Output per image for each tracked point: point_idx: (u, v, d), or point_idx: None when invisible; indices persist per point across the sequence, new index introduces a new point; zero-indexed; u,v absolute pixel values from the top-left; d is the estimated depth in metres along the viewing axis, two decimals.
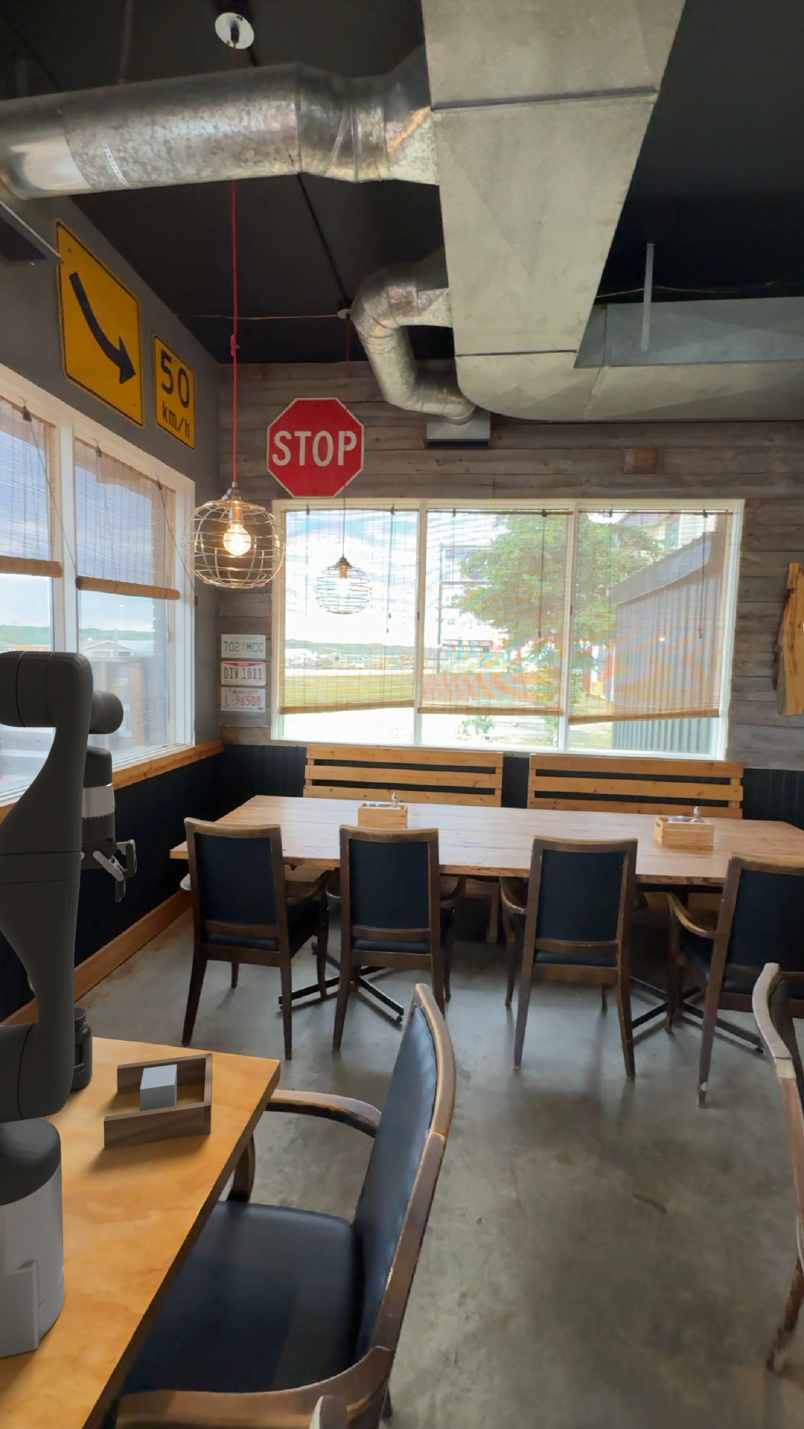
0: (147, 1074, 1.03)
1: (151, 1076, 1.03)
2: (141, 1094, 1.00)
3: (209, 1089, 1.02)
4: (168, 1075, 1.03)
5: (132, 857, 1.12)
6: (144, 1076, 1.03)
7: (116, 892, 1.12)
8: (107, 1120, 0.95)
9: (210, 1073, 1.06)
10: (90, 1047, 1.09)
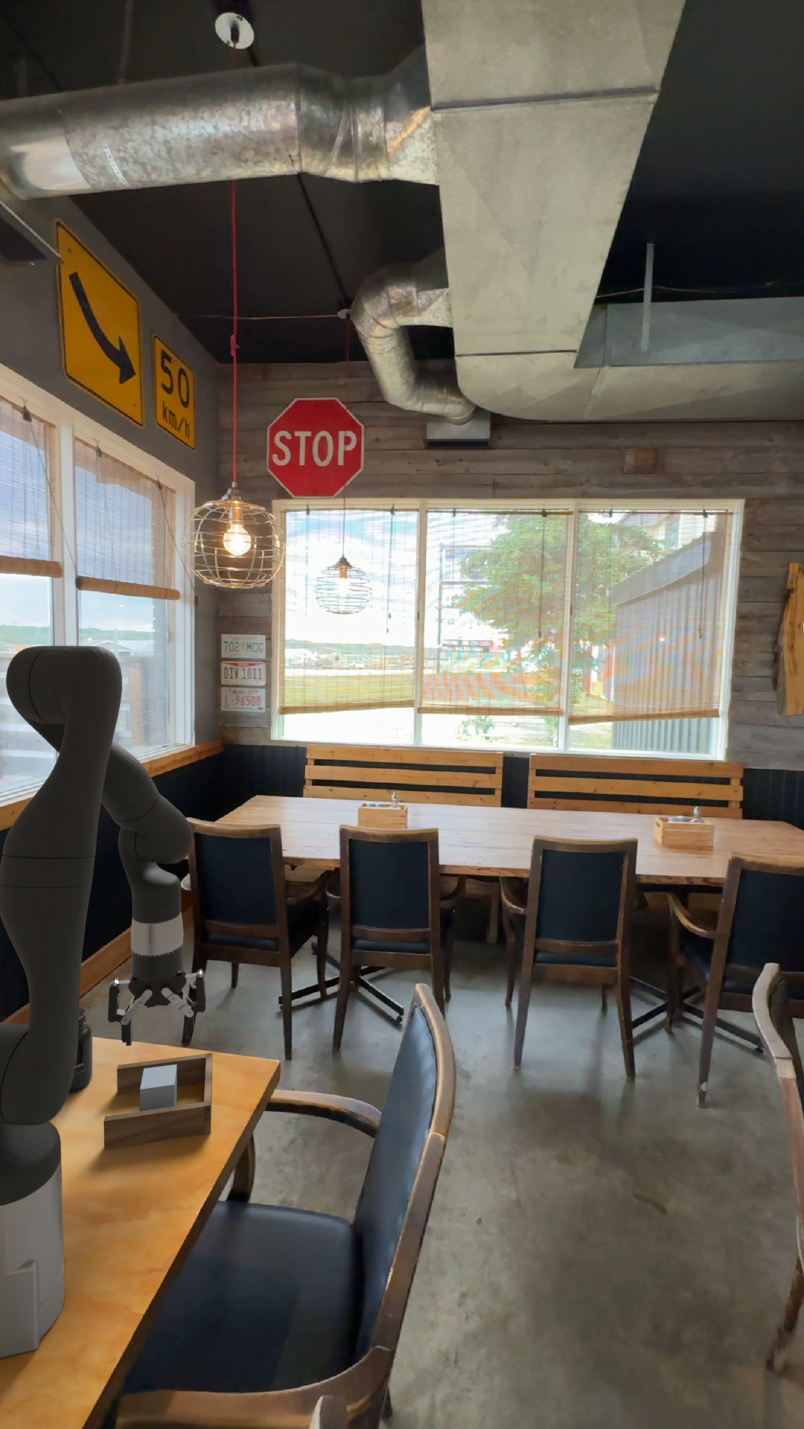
0: (147, 1074, 1.03)
1: (151, 1076, 1.03)
2: (141, 1094, 1.00)
3: (209, 1089, 1.02)
4: (168, 1075, 1.03)
5: (203, 991, 1.02)
6: (144, 1076, 1.03)
7: (185, 1029, 1.02)
8: (107, 1120, 0.95)
9: (210, 1073, 1.06)
10: (90, 1047, 1.09)
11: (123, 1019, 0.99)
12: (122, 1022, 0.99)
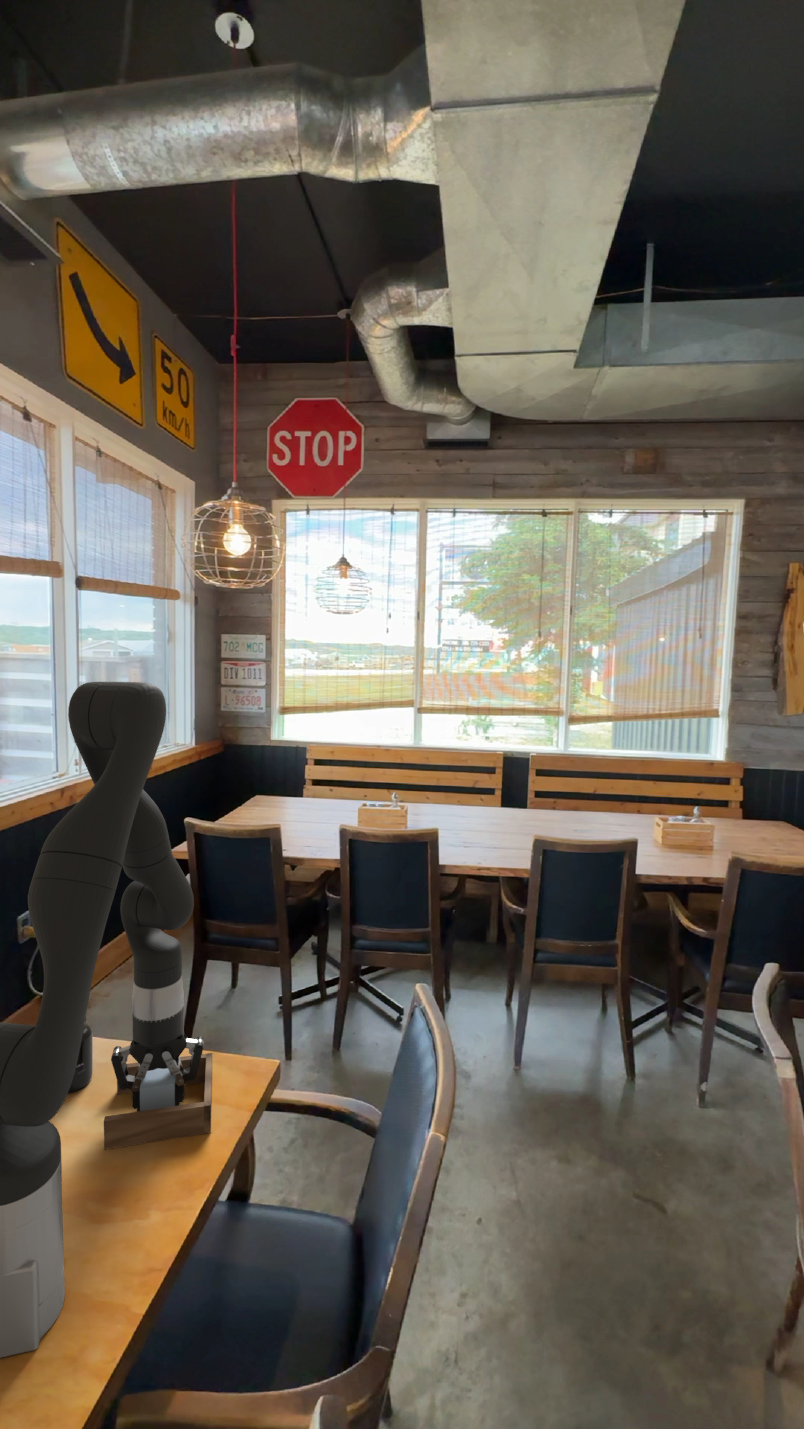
0: (147, 1074, 1.03)
1: (151, 1075, 1.03)
2: (141, 1094, 1.00)
3: (209, 1089, 1.02)
4: (168, 1074, 1.03)
5: (198, 1060, 1.03)
6: None
7: (175, 1097, 1.03)
8: (107, 1120, 0.95)
9: (210, 1073, 1.06)
10: (90, 1047, 1.09)
11: (134, 1086, 1.01)
12: (133, 1089, 1.01)
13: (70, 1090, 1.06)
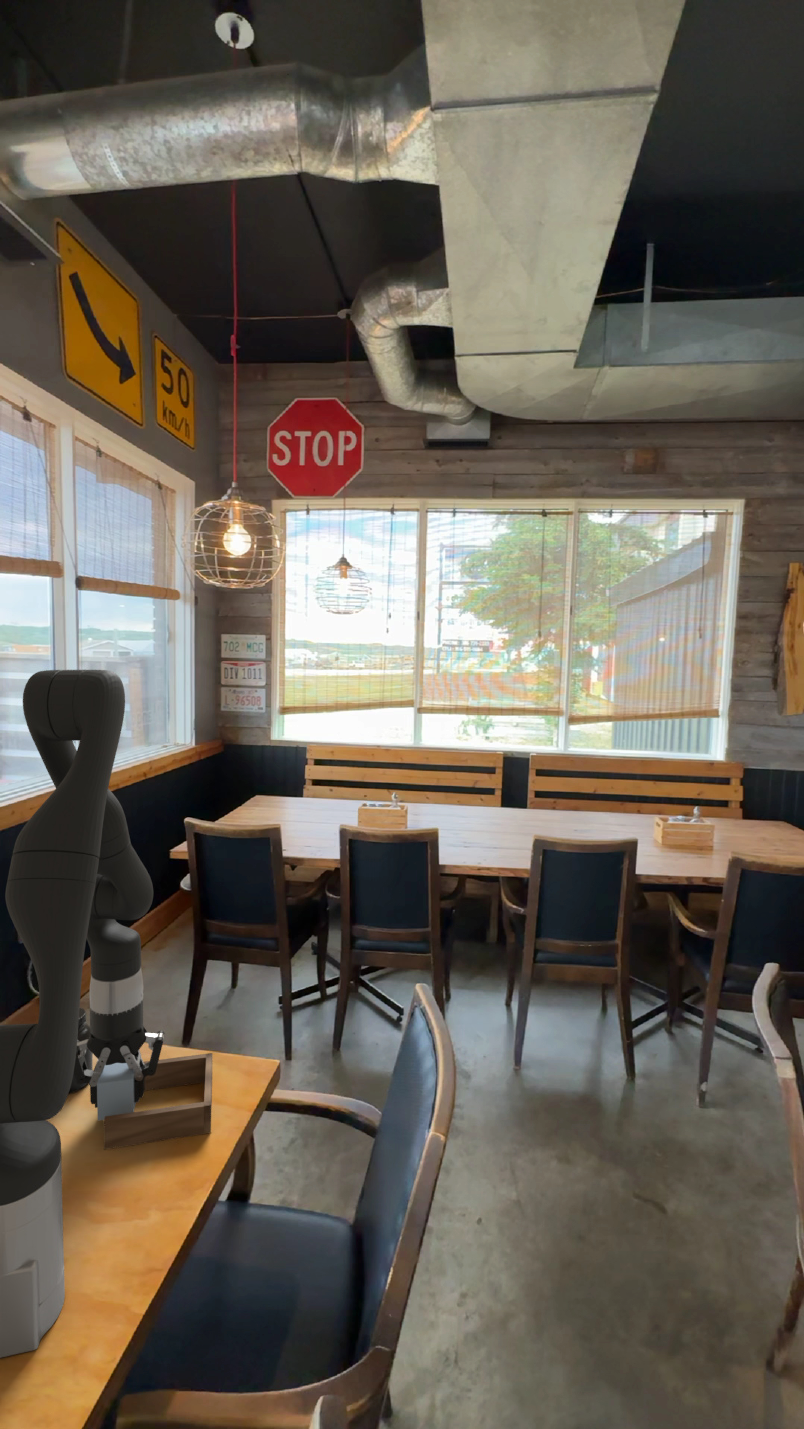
0: (106, 1068, 1.01)
1: (110, 1070, 1.01)
2: (98, 1088, 0.98)
3: (209, 1089, 1.02)
4: (127, 1069, 1.01)
5: (158, 1055, 1.01)
6: (103, 1070, 1.01)
7: (135, 1093, 1.01)
8: (107, 1120, 0.95)
9: (210, 1073, 1.06)
10: None
11: (92, 1081, 0.99)
12: (91, 1084, 0.99)
13: (70, 1090, 1.06)
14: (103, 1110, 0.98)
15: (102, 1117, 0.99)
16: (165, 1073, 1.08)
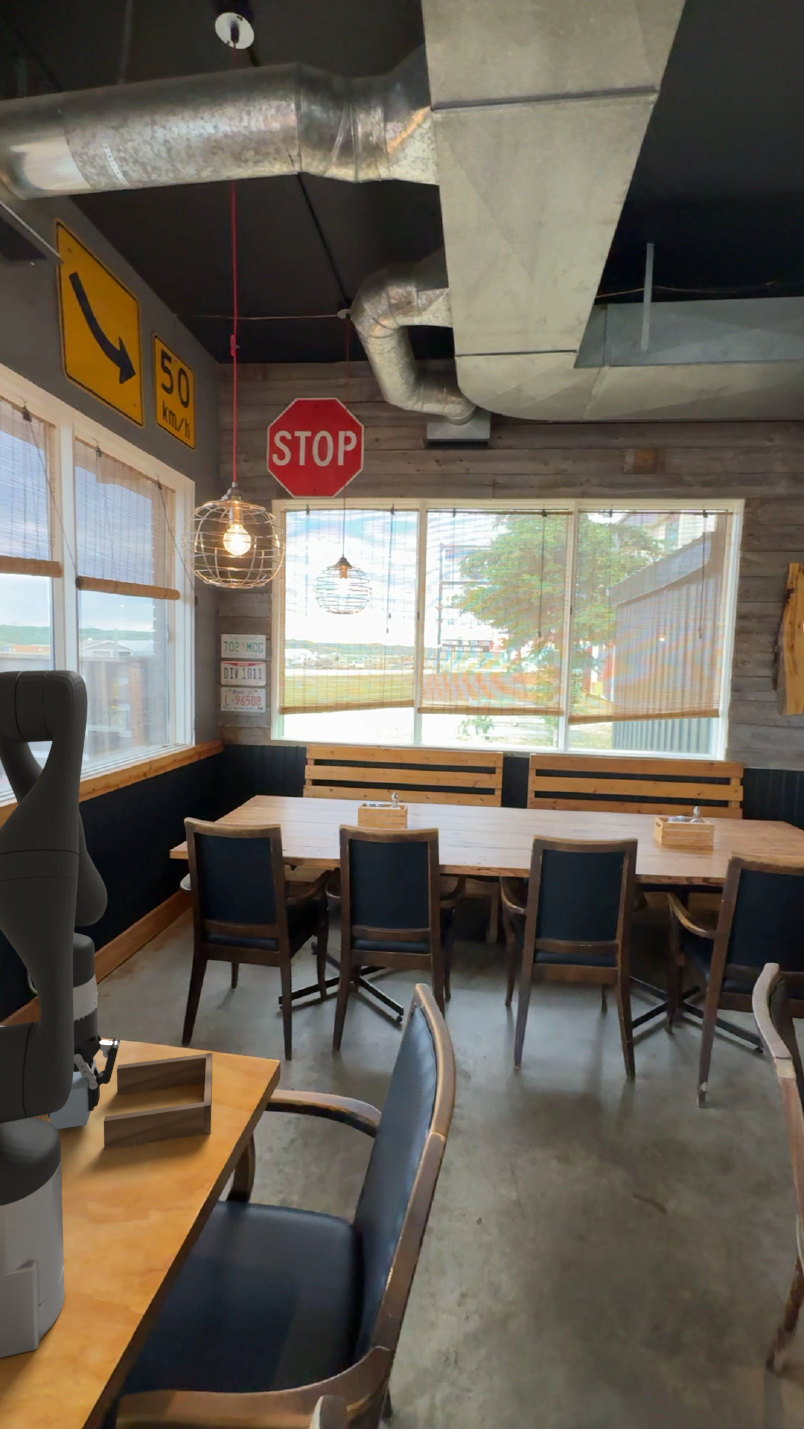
0: None
1: None
2: None
3: (209, 1089, 1.02)
4: (81, 1077, 1.00)
5: (113, 1063, 0.99)
6: None
7: (89, 1101, 0.99)
8: (107, 1120, 0.95)
9: (210, 1073, 1.06)
10: None
11: None
12: None
13: None
14: (56, 1120, 0.97)
15: (55, 1126, 0.97)
16: (165, 1073, 1.08)
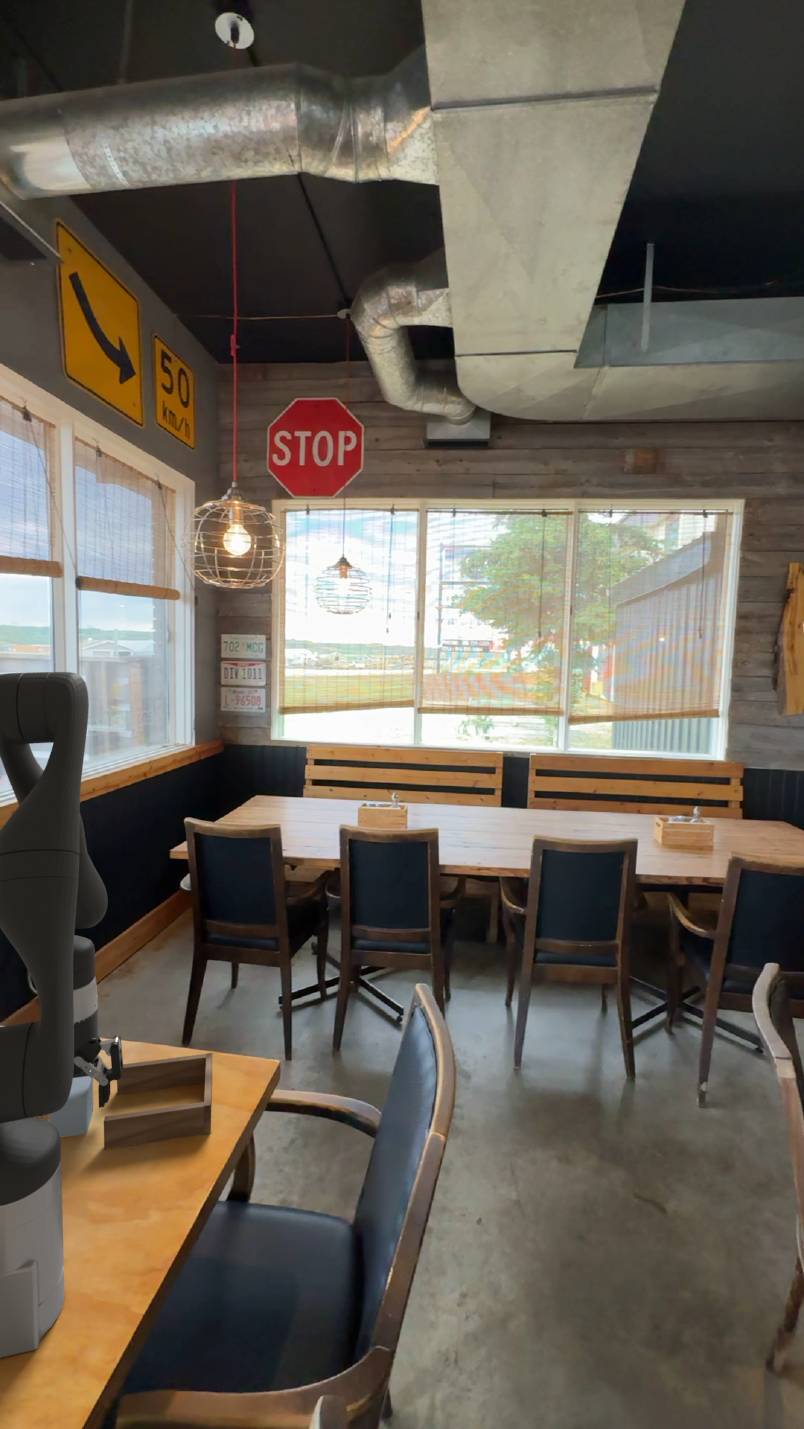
0: None
1: None
2: None
3: (209, 1089, 1.02)
4: (81, 1087, 1.00)
5: (117, 1059, 1.00)
6: None
7: (100, 1098, 1.00)
8: (107, 1120, 0.95)
9: (210, 1073, 1.06)
10: None
11: None
12: None
13: None
14: None
15: None
16: (165, 1073, 1.08)
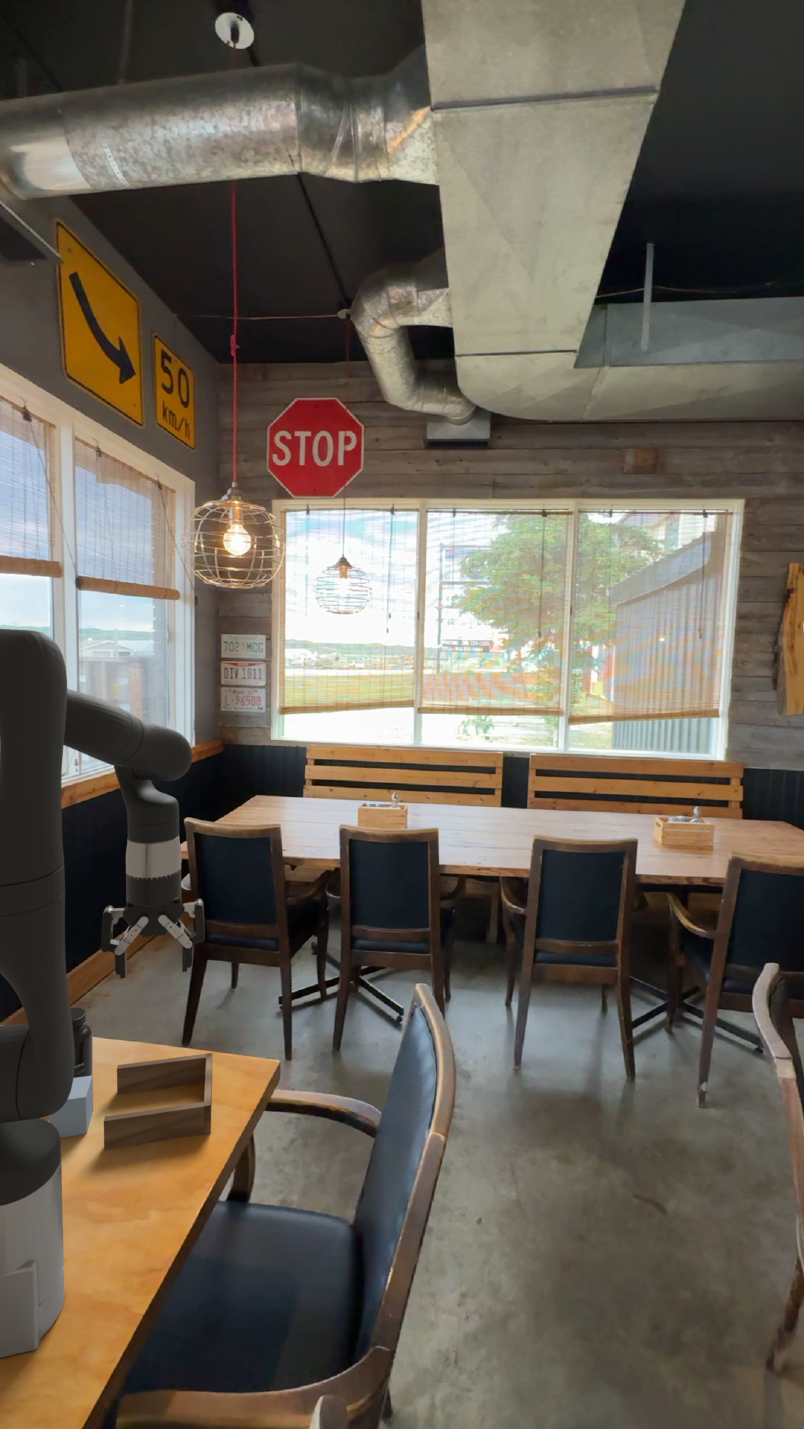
0: None
1: None
2: None
3: (209, 1089, 1.02)
4: (81, 1086, 1.00)
5: (202, 920, 0.96)
6: None
7: (183, 961, 0.96)
8: (107, 1120, 0.95)
9: (210, 1073, 1.06)
10: (90, 1047, 1.09)
11: (117, 949, 0.93)
12: (116, 952, 0.93)
13: None
14: None
15: None
16: (165, 1073, 1.08)
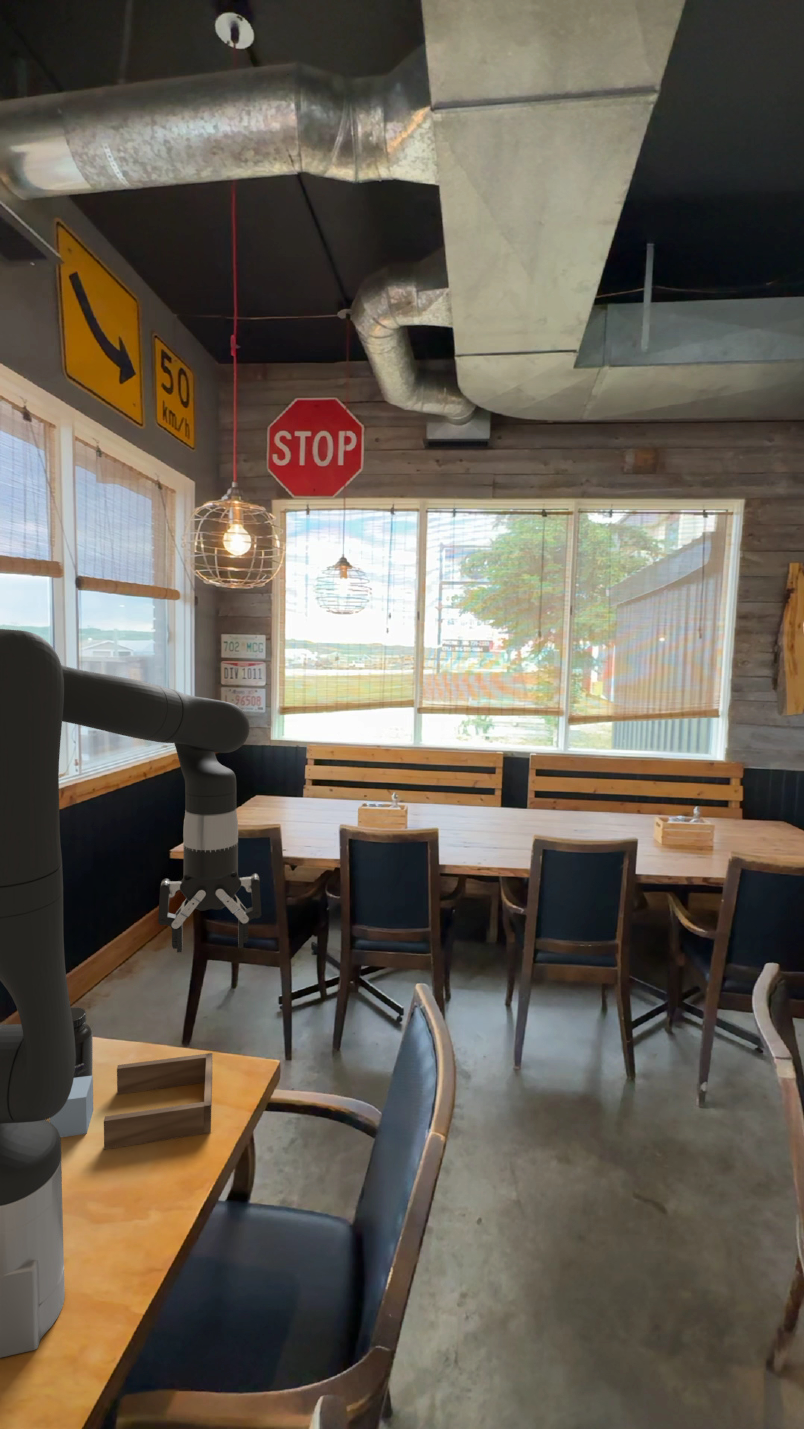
0: None
1: None
2: None
3: (209, 1089, 1.02)
4: (82, 1086, 1.00)
5: (258, 895, 0.95)
6: None
7: (239, 936, 0.95)
8: (107, 1120, 0.95)
9: (210, 1073, 1.06)
10: (90, 1047, 1.09)
11: (174, 922, 0.92)
12: (173, 925, 0.92)
13: None
14: None
15: None
16: (165, 1073, 1.08)
